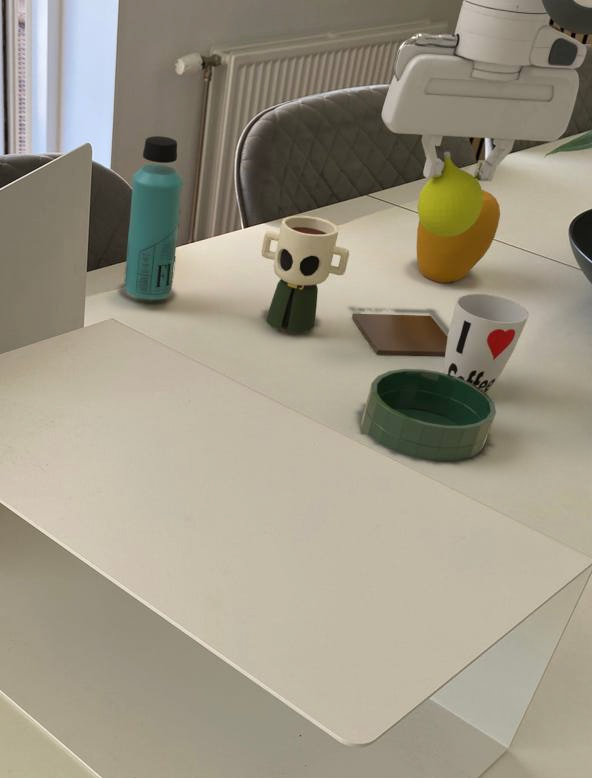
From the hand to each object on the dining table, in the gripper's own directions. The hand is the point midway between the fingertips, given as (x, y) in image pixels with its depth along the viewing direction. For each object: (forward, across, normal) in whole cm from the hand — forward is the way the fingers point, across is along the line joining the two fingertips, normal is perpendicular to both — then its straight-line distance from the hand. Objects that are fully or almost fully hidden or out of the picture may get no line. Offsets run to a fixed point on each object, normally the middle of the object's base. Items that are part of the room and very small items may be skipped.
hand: (457, 178), depth 112 cm
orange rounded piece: (+21, +15, +26) cm, 37 cm away
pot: (+21, -6, -21) cm, 30 cm away
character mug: (+21, -14, +7) cm, 26 cm away
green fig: (+6, 0, 0) cm, 6 cm away
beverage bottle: (+21, -32, +14) cm, 41 cm away
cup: (+21, +4, -9) cm, 23 cm away
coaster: (+21, +2, +5) cm, 22 cm away
